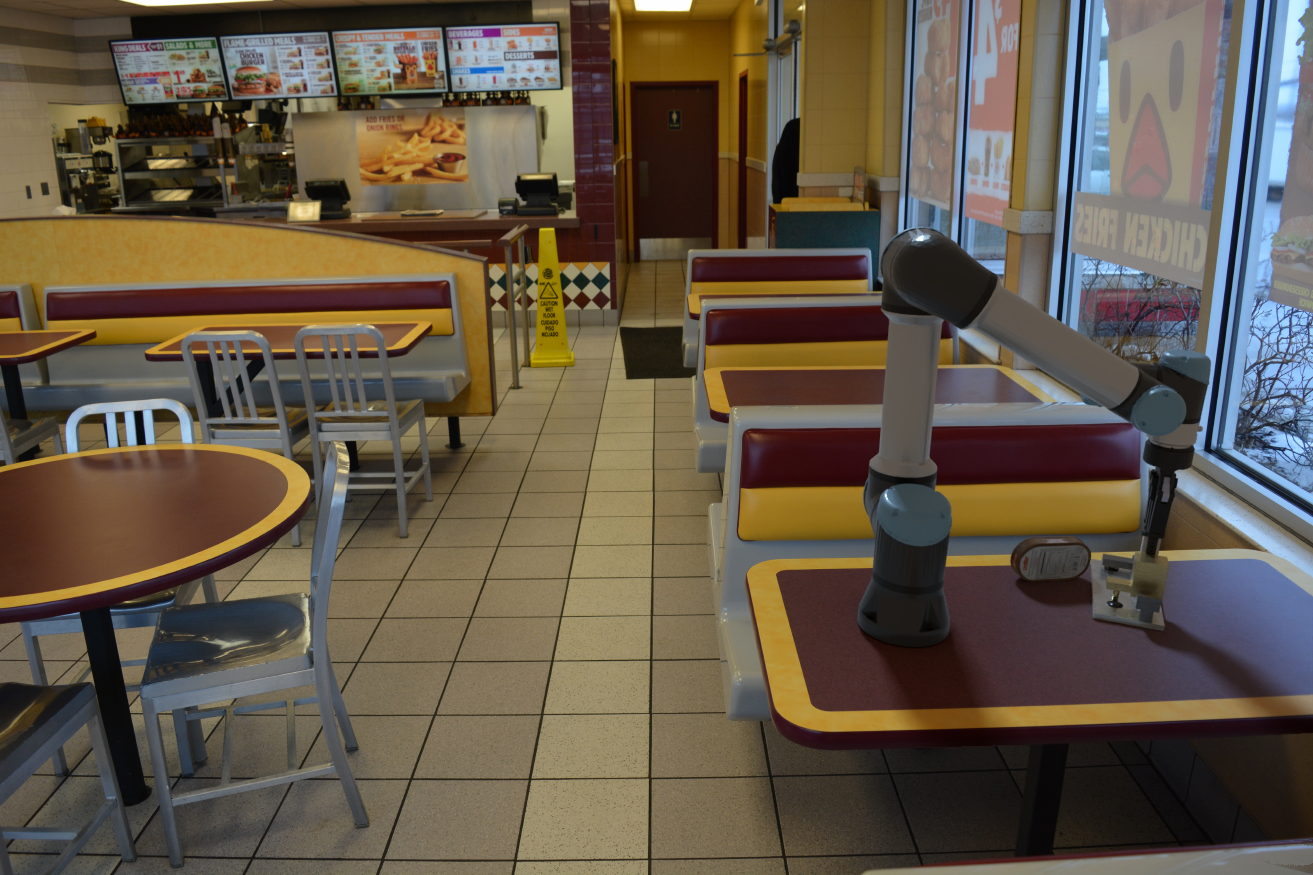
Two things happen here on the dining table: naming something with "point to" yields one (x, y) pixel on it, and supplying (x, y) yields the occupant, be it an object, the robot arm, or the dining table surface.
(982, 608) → the dining table surface
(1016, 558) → the tin
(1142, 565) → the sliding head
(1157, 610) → the grey slide rail base
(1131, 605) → the bolt plate
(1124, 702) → the dining table surface
